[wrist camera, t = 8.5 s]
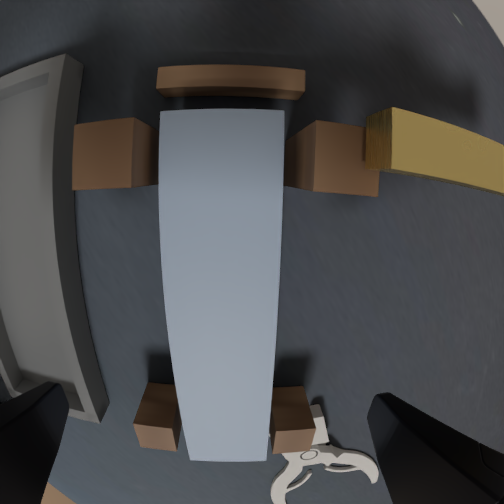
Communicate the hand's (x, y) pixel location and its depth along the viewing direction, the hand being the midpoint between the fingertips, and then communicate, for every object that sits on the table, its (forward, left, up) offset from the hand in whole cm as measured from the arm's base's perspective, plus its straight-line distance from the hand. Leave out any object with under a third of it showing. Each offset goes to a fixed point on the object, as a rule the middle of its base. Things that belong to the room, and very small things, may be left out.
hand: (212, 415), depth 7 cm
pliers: (+7, -15, -8) cm, 18 cm away
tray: (-11, +2, -8) cm, 14 cm away
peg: (0, 0, -8) cm, 8 cm away
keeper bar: (+9, +7, -2) cm, 12 cm away
